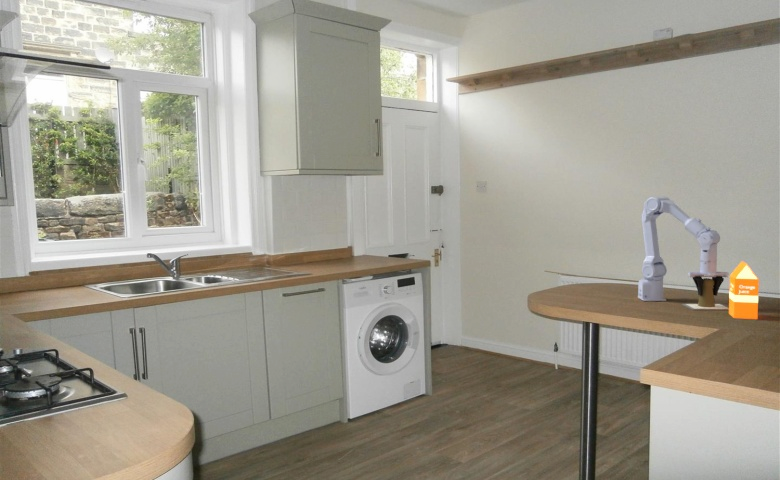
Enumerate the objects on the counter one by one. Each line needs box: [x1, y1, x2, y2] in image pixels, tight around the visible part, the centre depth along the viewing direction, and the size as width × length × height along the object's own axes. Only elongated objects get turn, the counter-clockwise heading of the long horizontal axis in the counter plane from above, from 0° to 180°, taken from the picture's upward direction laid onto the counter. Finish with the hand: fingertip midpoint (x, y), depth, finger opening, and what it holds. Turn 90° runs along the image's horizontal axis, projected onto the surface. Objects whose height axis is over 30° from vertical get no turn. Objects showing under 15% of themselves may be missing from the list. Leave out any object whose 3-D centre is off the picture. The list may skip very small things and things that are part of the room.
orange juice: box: [728, 261, 760, 320], centre depth 217 cm, size 8×9×20 cm
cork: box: [697, 277, 716, 307], centre depth 235 cm, size 6×6×11 cm
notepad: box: [681, 303, 729, 311], centre depth 235 cm, size 15×11×1 cm
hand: (707, 295), depth 234 cm, fingers closed on cork, 5 cm apart
